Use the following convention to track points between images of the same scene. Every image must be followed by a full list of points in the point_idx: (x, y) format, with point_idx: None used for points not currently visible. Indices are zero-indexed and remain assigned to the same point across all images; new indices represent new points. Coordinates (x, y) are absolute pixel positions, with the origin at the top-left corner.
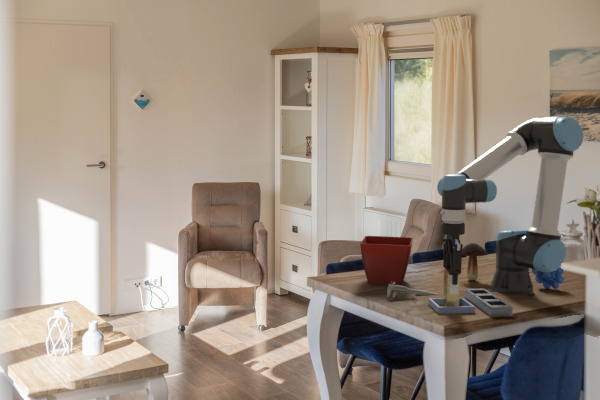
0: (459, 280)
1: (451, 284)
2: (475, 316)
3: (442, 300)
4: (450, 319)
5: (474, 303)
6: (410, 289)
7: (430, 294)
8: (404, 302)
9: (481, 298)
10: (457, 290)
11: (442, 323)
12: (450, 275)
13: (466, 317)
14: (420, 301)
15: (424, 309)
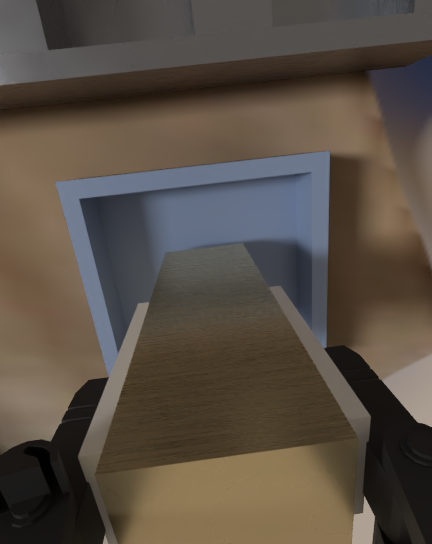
0: (295, 333)
1: None
2: (318, 150)
3: (115, 323)
4: (362, 298)
5: (83, 94)
6: None
7: None
8: None
9: (47, 10)
10: (289, 304)
11: (420, 342)
12: (355, 499)
13: (334, 210)
14: (4, 391)
15: None
